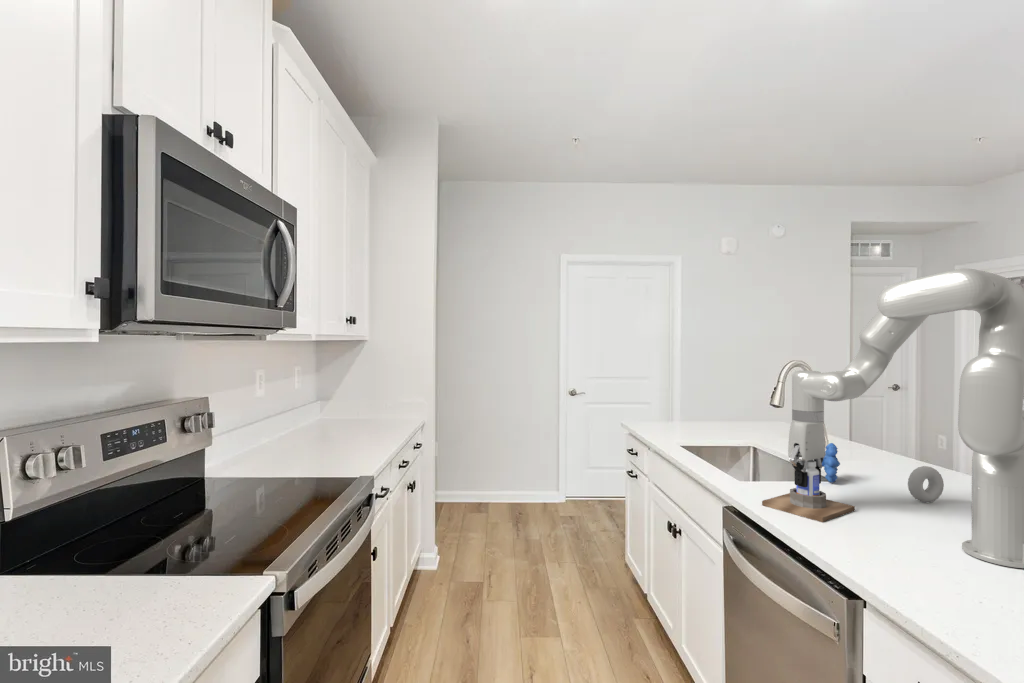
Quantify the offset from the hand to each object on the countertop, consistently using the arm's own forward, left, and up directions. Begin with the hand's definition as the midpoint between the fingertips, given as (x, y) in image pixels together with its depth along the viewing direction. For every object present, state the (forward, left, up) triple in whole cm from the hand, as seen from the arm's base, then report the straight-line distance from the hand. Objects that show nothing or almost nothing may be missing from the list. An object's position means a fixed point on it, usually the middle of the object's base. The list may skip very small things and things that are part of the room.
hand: (807, 483), depth 142 cm
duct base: (0, 0, -7) cm, 7 cm away
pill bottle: (0, 0, -4) cm, 4 cm away
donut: (-15, -32, -7) cm, 36 cm away
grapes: (+11, -32, -7) cm, 35 cm away
